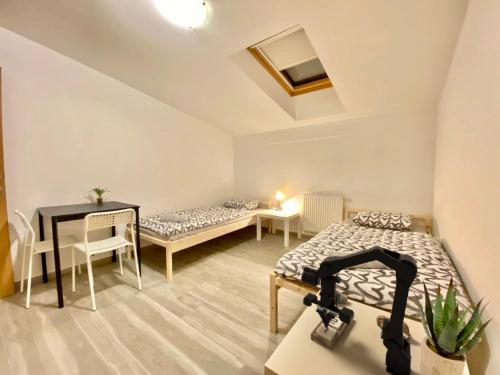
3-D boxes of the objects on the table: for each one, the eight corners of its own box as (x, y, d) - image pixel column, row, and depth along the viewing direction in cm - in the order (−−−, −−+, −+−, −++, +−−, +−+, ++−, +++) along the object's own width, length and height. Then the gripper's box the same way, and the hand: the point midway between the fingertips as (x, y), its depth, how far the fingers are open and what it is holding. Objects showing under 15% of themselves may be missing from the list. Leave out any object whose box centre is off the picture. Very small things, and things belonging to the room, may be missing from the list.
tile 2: (342, 323, 93) (343, 320, 93) (337, 331, 89) (338, 327, 88) (329, 317, 97) (329, 314, 97) (323, 324, 93) (323, 320, 92)
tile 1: (336, 333, 87) (336, 329, 87) (330, 342, 83) (330, 338, 83) (322, 326, 91) (322, 322, 91) (315, 334, 87) (316, 330, 87)
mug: (351, 307, 109) (343, 291, 107) (332, 311, 112) (324, 296, 110) (348, 295, 116) (340, 281, 114) (330, 299, 119) (322, 285, 117)
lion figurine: (380, 342, 86) (381, 320, 85) (372, 332, 91) (373, 311, 91) (415, 341, 87) (417, 319, 86) (405, 331, 92) (406, 311, 91)
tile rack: (352, 319, 99) (353, 314, 99) (333, 351, 81) (333, 345, 81) (333, 310, 105) (333, 306, 105) (310, 339, 87) (310, 333, 87)
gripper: (359, 290, 86) (357, 327, 87) (314, 275, 98) (313, 308, 99) (350, 302, 77) (348, 344, 78) (302, 284, 90) (301, 320, 91)
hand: (326, 327), depth 87 cm, fingers closed
